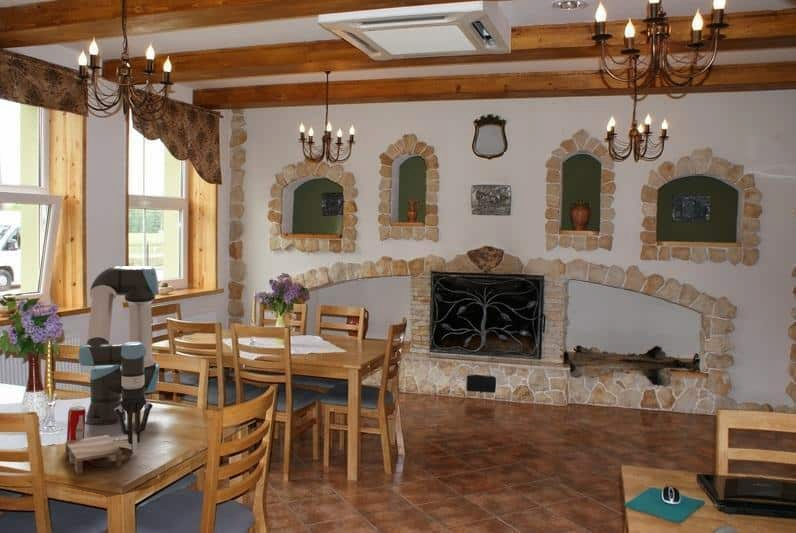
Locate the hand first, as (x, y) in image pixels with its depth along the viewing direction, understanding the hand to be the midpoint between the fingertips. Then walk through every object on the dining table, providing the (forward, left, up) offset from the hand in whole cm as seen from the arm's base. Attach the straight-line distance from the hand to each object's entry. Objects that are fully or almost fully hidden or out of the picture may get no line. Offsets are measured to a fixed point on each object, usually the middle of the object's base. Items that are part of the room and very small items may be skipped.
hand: (134, 452), depth 244 cm
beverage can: (-19, -15, -2) cm, 25 cm away
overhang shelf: (0, -13, -1) cm, 13 cm away
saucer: (0, -8, -2) cm, 8 cm away
